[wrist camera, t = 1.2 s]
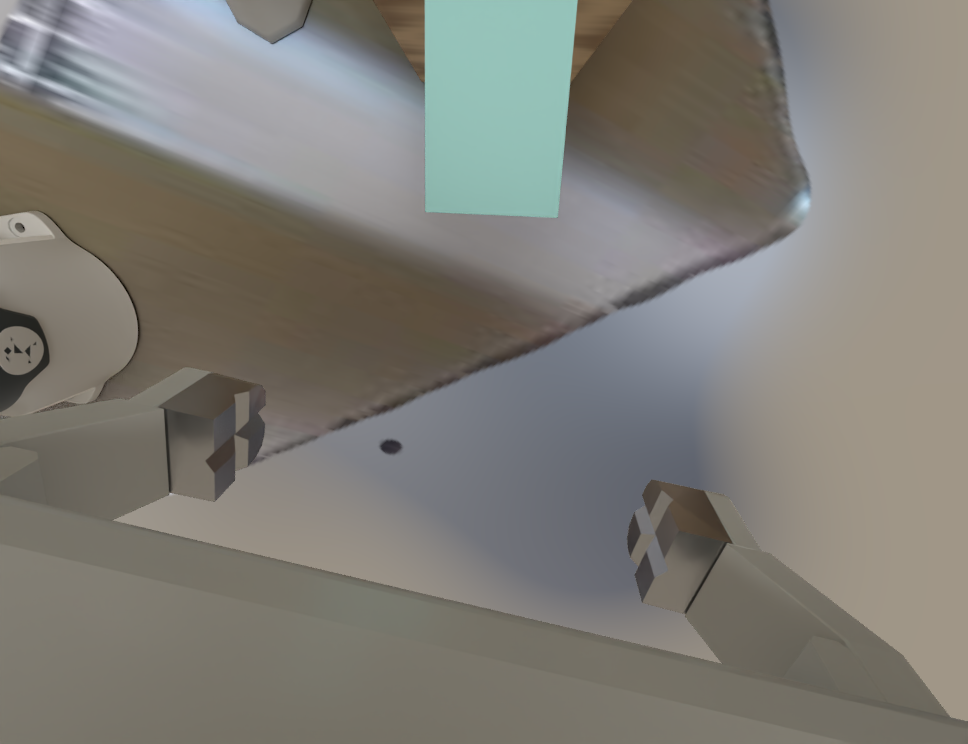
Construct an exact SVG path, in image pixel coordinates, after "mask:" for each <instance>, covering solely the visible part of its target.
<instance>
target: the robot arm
mask: <svg viewBox="0 0 968 744" xmlns="http://www.w3.org/2000/svg"><path fill="white" fill-rule="evenodd" d="M22 224H23V225H24V227H25V230H24V229H23V227H22ZM137 339H138V324H137V318H136V314H135V310H134V307H133V304H132V302H131V300H130V298H129V296H128V294H127V292H126V290H125V289H124V287H123V285H122V284H121V283H120V281H119V280H118V279H117V277H116V276H115V275H114V274H113V273H112V272H111V270H110V269H109V268H108V267H107V266H105V265H104V264H103V263H102V262H101V261H100V260H99V259H97V258H96V257H95V256H93V255H92V254H90V253H89V252H87V251H86V250H84V249H82V248H81V247H79V246H78V245H76V244H74V243H73V242H72V241H70V240H69V239H68V238H67V237H66V236H65V235H64V234H63V232H62V231H61V230H60V229H59V228H58V227H57V226H56V224H55V223H54V222H53V221H52V220H51V219H50V218H49V217H47V216H46V215H45V214H43V213H41V212H39V211H28V212H22V213H16V214H10V215H5V216H0V416H9V418H4V419H0V744H968V721H964V720H960V719H955V718H951V717H950V716H949V715H948V714H947V713H946V711H945V709H944V708H943V707H942V706H941V704H940V703H939V702H938V701H937V699H936V698H935V697H934V695H933V694H932V693H931V691H930V690H929V689H928V687H927V686H926V685H925V683H924V682H923V681H922V679H921V678H920V677H919V676H918V674H917V673H916V672H915V670H914V669H913V668H912V667H911V665H910V664H909V663H908V662H907V660H906V659H905V657H904V656H903V655H902V654H901V653H899V652H898V651H897V650H895V649H894V648H893V647H891V646H890V645H889V644H888V643H886V642H885V641H884V640H882V639H881V638H880V637H878V636H877V635H876V634H874V633H873V632H872V631H870V630H869V629H868V628H867V627H865V626H864V625H863V624H861V623H860V622H859V621H857V620H856V619H855V618H853V617H852V616H851V615H850V614H848V613H847V612H846V611H844V610H843V609H842V608H840V607H839V606H838V605H837V604H835V603H834V602H833V601H832V600H830V599H829V598H828V597H826V596H825V595H824V594H822V593H821V592H820V591H818V590H817V589H816V588H815V587H813V586H812V585H811V584H809V583H808V582H807V581H805V580H804V579H803V578H802V577H800V576H799V575H798V574H796V573H795V572H794V571H792V570H791V569H790V568H789V567H787V566H786V565H784V564H783V563H782V562H781V561H779V560H778V559H777V558H775V557H774V556H773V555H772V554H770V553H767V552H763V551H762V550H761V549H760V547H759V546H758V544H757V543H756V541H755V539H754V537H753V536H752V534H751V533H750V531H749V529H748V528H747V526H746V524H745V523H744V521H743V520H742V518H741V516H740V515H739V513H738V511H737V510H736V508H735V507H734V505H733V503H732V502H731V500H730V499H729V498H728V497H727V496H725V495H724V494H719V493H714V492H709V491H704V490H699V489H694V488H690V487H685V486H680V485H676V484H671V483H666V482H661V481H656V480H651V481H650V482H649V483H648V485H647V486H646V488H645V490H644V492H643V494H642V496H643V499H644V502H645V506H643V507H642V508H640V509H638V510H637V511H635V512H634V514H633V517H632V519H631V522H630V524H629V530H628V536H627V545H628V551H629V555H630V558H631V559H632V560H633V561H634V562H635V563H636V564H637V565H638V569H637V571H636V573H635V578H636V582H637V586H638V589H639V593H640V596H641V601H642V603H645V604H648V605H652V606H656V607H660V608H663V609H667V610H672V611H675V612H679V613H682V614H686V615H685V617H686V618H687V620H688V621H689V622H690V624H691V625H692V626H693V627H694V629H695V630H696V631H697V632H698V634H699V635H700V636H701V637H702V639H703V640H704V641H705V642H706V644H707V645H708V646H709V648H710V649H711V650H712V651H713V653H714V654H715V655H716V657H717V658H718V659H719V660H720V662H721V663H722V664H721V663H717V662H712V661H708V660H704V659H700V658H695V657H691V656H687V655H683V654H678V653H674V652H670V651H666V650H661V649H657V648H652V647H648V646H644V645H640V644H636V643H631V642H627V641H623V640H619V639H614V638H610V637H606V636H602V635H597V634H593V633H589V632H584V631H580V630H576V629H572V628H567V627H563V626H559V625H555V624H550V623H546V622H542V621H538V620H533V619H529V618H525V617H521V616H516V615H512V614H508V613H503V612H499V611H495V610H491V609H487V608H482V607H478V606H473V605H470V604H465V603H461V602H457V601H453V600H448V599H444V598H439V597H436V596H431V595H426V594H422V593H418V592H414V591H409V590H406V589H401V588H397V587H393V586H389V585H384V584H380V583H376V582H372V581H367V580H363V579H359V578H355V577H351V576H346V575H342V574H338V573H333V572H329V571H325V570H321V569H317V568H312V567H308V566H304V565H299V564H295V563H291V562H286V561H282V560H278V559H274V558H270V557H265V556H261V555H257V554H253V553H248V552H244V551H240V550H236V549H231V548H227V547H223V546H218V545H214V544H210V543H205V542H202V541H197V540H193V539H189V538H184V537H180V536H176V535H172V534H167V533H163V532H159V531H154V530H151V529H146V528H142V527H138V526H133V525H129V524H125V523H120V522H117V521H112V520H114V519H116V518H118V517H121V516H123V515H125V514H127V513H129V512H132V511H134V510H136V509H138V508H141V507H143V506H145V505H147V504H150V503H152V502H154V501H156V500H159V499H161V498H163V497H165V496H168V495H169V493H174V494H179V495H184V496H189V497H193V498H199V499H203V500H208V501H213V502H215V501H216V500H217V499H218V498H219V497H220V496H221V495H222V494H223V492H224V491H225V490H226V489H227V488H228V487H229V486H230V485H231V484H232V483H233V482H234V481H235V471H237V470H240V469H243V468H246V467H248V466H249V465H250V464H251V462H252V461H253V460H254V459H255V458H256V456H257V454H258V452H259V450H260V448H261V446H262V442H263V438H264V433H265V423H264V421H263V420H262V418H261V417H260V415H259V414H258V412H259V411H260V410H261V409H262V408H263V407H264V406H265V405H266V391H265V389H264V388H263V386H262V385H259V384H255V383H251V382H247V381H243V380H239V379H236V378H232V377H228V376H224V375H220V374H216V373H213V372H209V371H205V370H200V369H196V368H189V367H184V368H183V369H181V370H179V371H178V372H176V373H174V374H172V375H171V376H169V377H167V378H165V379H164V380H162V381H160V382H158V383H157V384H155V385H153V386H151V387H150V388H148V389H146V390H144V391H143V392H141V393H139V394H138V395H136V396H134V397H132V398H131V399H129V400H125V399H120V398H118V399H113V400H107V401H101V402H95V403H90V404H86V403H89V402H92V401H94V400H95V399H96V398H97V397H98V396H99V394H100V392H101V390H102V388H103V386H104V383H105V382H106V381H107V380H108V379H109V378H111V377H112V376H114V375H115V374H117V373H118V372H119V371H121V370H122V369H123V368H124V367H125V366H126V365H127V364H128V362H129V361H130V359H131V358H132V356H133V354H134V351H135V348H136V345H137ZM62 401H66V402H71V403H76V404H84V405H78V406H72V407H67V408H61V409H55V410H49V411H44V412H38V413H34V412H37V411H40V410H42V409H45V408H47V407H50V406H52V405H55V404H57V403H60V402H62Z"/></svg>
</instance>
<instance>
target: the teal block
mask: <svg viewBox="0 0 968 744" xmlns="http://www.w3.org/2000/svg"><path fill="white" fill-rule="evenodd" d="M577 2H578V0H425V212H435V213H458V214H481V215H504V216H527V217H550V218H558V209H559V198H560V188H561V177H562V166H563V155H564V144H565V133H566V122H567V111H568V100H569V89H570V78H571V67H572V56H573V45H574V34H575V24H576V13H577Z"/></svg>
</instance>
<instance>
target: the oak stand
mask: <svg viewBox="0 0 968 744" xmlns="http://www.w3.org/2000/svg"><path fill="white" fill-rule="evenodd" d="M373 1H374V3H375V4H376V6H377V8H378V9H379V11H380V13H381V14H382V16H383V18H384V19H385V21H386V23H387V24H388V26H389V28H390V29H391V31H392V33H393V34H394V36H395V38H396V40H397V41H398V43H399V45H400V46H401V48H402V50H403V51H404V53H405V55H406V56H407V58H408V60H409V61H410V63H411V65H412V66H413V68H414V70H415V71H416V73H417V75H418V76H419V78H420V80H421V81H422V82H425V0H373ZM631 1H632V0H578V2H577V13H576V24H575V34H574V45H573V56H572V67H571V78H570V83H571V82H572V80H573V79H574V78H575V76H576V75H577V74H578V72H579V71H580V70H581V68H582V67H583V66H584V64H585V63H586V62H587V60H588V59H589V58H590V56H591V55H592V54H593V52H594V51H595V50H596V48H597V47H598V46H599V44H600V43H601V42H602V40H603V39H604V38H605V36H606V35H607V34H608V32H609V31H610V30H611V28H612V27H613V26H614V24H615V23H616V22H617V20H618V19H619V18H620V16H621V15H622V13H623V12H624V11H625V9H626V8H627V7H628V5H629V4H630V3H631Z"/></svg>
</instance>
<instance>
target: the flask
mask: <svg viewBox="0 0 968 744" xmlns="http://www.w3.org/2000/svg"><path fill="white" fill-rule="evenodd" d="M226 1H227V3H228V5H229V7H230V9H231V11H232V13H233V15H234V17H235V18H236V20H237V22H238V23H239V24H240V25H242V26H244V27H245V28H247V29H249V30H250V31H252V32H254V33H255V34H257V35H259V36H260V37H262V38H263V39H265V40H267V41H268V42H270V43H274V42H276V41H277V40H279V39H281V38H283V37H284V36H286V35H288V34H290V33H291V32H293V31H295V30H297V29H298V28H300V27H302V26H303V23H304V20H305V17H306V15H307V12H308V9H309V6H310V3H311V0H226Z"/></svg>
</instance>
